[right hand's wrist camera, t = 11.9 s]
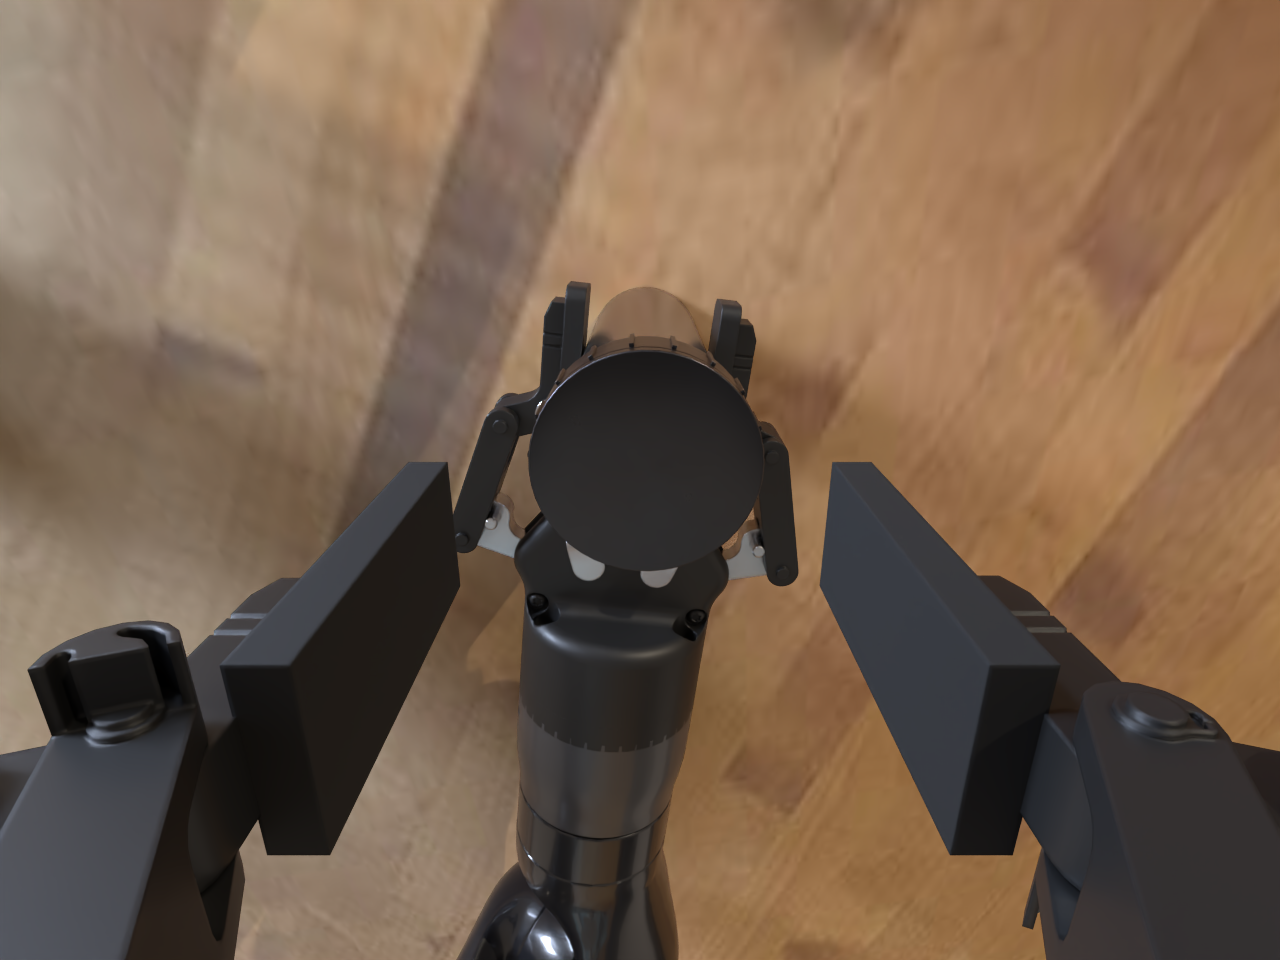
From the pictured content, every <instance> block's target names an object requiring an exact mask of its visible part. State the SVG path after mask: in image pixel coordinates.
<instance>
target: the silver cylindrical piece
mask: <svg viewBox="0 0 1280 960" xmlns="http://www.w3.org/2000/svg"><path fill="white" fill-rule="evenodd" d="M633 333H634V335H635V337H637V336H657V337H664V338H670V336H675V339H676V340H677V341H681V342H684V343H687V344H689V345H691V346H693V347H695V348H698V349H700V350H701V351H703V352H705V353H707V352H706V349H705V347H704V345H703V342H702V340H701V338H700V335H699V333H698V330H697V328H696V326H695V323H694V321H693V319H692V317H691V315H690V313H689V311H688V310H687V308H686V307H685V306H684V305H683V303H682V302H681V301H680V300H678V299H677V298H676V297H675V296H673V295H672V294H670V293H668V292H666V291H664V290H660V289H657V288H651V287H639V288H633V289H629V290H627V291H624V292H622V293H620V294H619V295H617V296H616V297H614V298H613V299H612V300H610V301H609V302H608V303H607V304H606V306H605V307H604V308H603V310H602V311H601V313H600V315H599V317H598V319H597V321H596V324H595V326H594V329H593V331H592V334H591V336H590V339H589V341H588V344H587V346H586V349H585V351H584V354H583V355H585V354H586V353H588V352H589V351H590V349H591V347H592V346H594V345H596V347H599V346H601V345H604V344H606V343H609V342H612V341H615V340H619V339H623V338H627V337H630V334H633Z"/></svg>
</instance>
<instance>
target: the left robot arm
mask: <svg viewBox="0 0 1280 960" xmlns="http://www.w3.org/2000/svg"><path fill="white" fill-rule="evenodd" d="M590 290H591V284H590V283H583V282H574V281H571V282H570V283H569V284H568V285H567V289H566V296H565V298H564V297H555V298H554V299H553V300H552V301H551V303H550V305H549V307H548V309H547V312H546V314H545V316H544V330H543V332H544V333H543V347H542V363H541V379H540V387H539V388H537V389H536V390H534V391H531V392H527V393H523V394H515V393H508V394H505V395H503V396H502V397H501V398H500V399H499V400H498V402H497V403H496V405H495V408H494V409H493V410H491V411H490V413H489V414H488V415H487V417H486V418H485V420H484V423H483V426H482V429H481V432H480V435H479V438H478V441H477V444H476V448H475V451H474V454H473V457H472V460H471V463H470V466H469V469H468V472H467V475H466V478H465V481H464V484H463V487H462V490H461V493H460V496H459V499H458V502H457V505H456V508H455V511H454V514H453V520H454V530H455V540H456V549H457V552H459V553H468V552H471V551H473V550H474V549H475V548H476V546H480V547H483V548H486V549H489V550H492V551H494V552H497V553H500V554H503V555H506V556H509V557H512V558H514V563H515V566H516V569H517V571H518V573H519V574H520V576H521V578H522V580H523V583H524V587H525V607H524V623H523V640H522V656H521V673H520V690H519V706H518V722H517V748H518V757H519V765H520V782H519V798H518V813H517V830H516V847H517V855H518V861H519V862H517V863H516V864H515V865H513V866H512V867H511V868H510V869H509V870H508V871H507V872H506V873H505V874H504V876H503V877H502V878H501V879H500V881H499V882H498V883H497V885H496V886H495V888H494V890H493V891H492V893H491V895H490V896H489V898H488V900H487V901H486V903H485V905H484V907H483V909H482V911H481V913H480V915H479V917H478V919H477V921H476V923H475V925H474V927H473V929H472V931H471V933H470V935H469V937H468V939H467V941H466V943H465V945H464V947H463V948H462V950H461V952H460V954H459V956H458V958H457V960H678V956H679V945H678V933H677V924H676V917H675V912H674V906H673V900H672V895H671V889H670V884H669V878H668V871H667V865H666V860H665V856H664V851H663V843H664V837H665V833H666V827H667V821H668V815H669V809H670V803H671V797H672V791H673V787H674V784H675V781H676V778H677V776H678V773H679V770H680V767H681V764H682V761H683V758H684V753H685V749H686V743H687V737H688V732H689V726H690V720H691V715H692V709H693V703H694V697H695V691H696V685H697V679H698V674H699V668H700V662H701V657H702V651H703V645H704V639H705V634H706V628H707V622H708V617H709V612H710V609H711V606H712V604H713V603H714V601H715V600H716V598H717V597H718V596H719V595H720V594H721V592H722V591H723V590H724V589H725V587H726V585H727V583H728V580H733V579H741V578H748V577H756V576H763V575H767V577H768V579H769V581H770V582H771V583H772V584H774V585H777V586H787V585H789V584H791V583H793V582H794V581H795V580H796V578H797V576H798V561H797V549H796V537H795V525H794V513H793V501H792V490H791V478H790V466H789V454H788V451H787V448H786V447H785V445H784V443H783V441H782V440H781V438H780V436H779V435H778V433H777V431H776V430H775V428H774V427H773V426H772V425H771V424H770V423H767V422H760V421H759V423H760V425H761V427H762V430H761V431H760V432H761V436H762V442H763V447H764V472H763V480H762V484H761V488H760V492H759V494H758V497H757V499H756V502H755V505H754V507H753V509H754V518H755V519H754V520H749V521H746V522H745V523H743V524H742V526H741V527H740V528H739V531H738V538H737V541H736V543H735V544H734V545H733V546H732V547H730V548H728V549H725V550H723V548H722V546H720V547H719V548H718V549H716V550H715V551H713V552H712V553H710V554H708V555H707V556H705V557H703V558H701V559H699V560H697V561H694V562H692V563H689V564H686V565H683V566H680V567H677V568H672V569H667V570H659V571H633V570H626V569H620V568H616V567H612V566H609V565H606V564H603V563H601V562H598V561H596V560H593V559H591V558H589V557H588V556H586V555H584V554H582V553H580V552H579V551H578V550H576V549H575V548H573V547H572V546H571V545H569V544H568V543H567V542H566V541H565V540H564V539H563V538H562V537H561V536H559V535H558V533H557V532H556V531H555V530H554V529H553V527H552V526H551V525H550V524H549V522H548V521H547V519H546V518H545V516H544V515H543V513H542V512H540V513H539V514H538V515H537V516H536V517H535V518H534V519H533V520H532V522H531V523H530V524H529V525H528V526H527V527H526V528H525V529H523V528H521V527H520V526H518V525H517V524H516V522H515V521H514V518H513V511H514V504H513V502H512V500H511V499H510V497H508V496H507V495H505V494H503V493H500V489H501V487H502V484H503V481H504V478H505V475H506V473H507V470H508V467H509V464H510V461H511V458H512V456H513V453H514V450H515V447H516V444H517V442H518V439H519V436H523V435H527V434H531V433H532V432H533V428H534V425H535V423H536V421H537V419H535V418H534V417H535V414H536V412H537V410H538V408H539V406H540V404H541V402H542V401H546V399H547V397H548V395H549V393H550V392H551V390H552V388H553V387H554V385H555V382H556V379H557V377H558V375H559V373H560V371H561V370H562V369H563V368H564V369H565V370H567V369H568V368H569V367H570V366H571V365H572V364H573V363H574V362H575V361H576V360H578V359H579V358H581V357H582V356H583V354H584V351H585V349H586V339H587V327H588V315H589V303H590ZM741 315H742V307H741V305H740V304H739V303H738V302H737V301H732V300H723V299H717V301H716V304H715V310H714V316H713V323H712V329H711V336H710V343H709V349H708V351H709V352H711V353H712V355H713V358H714V359H715V360H716V361H717V362H718V363H719V364H721V365H722V366H723V367H724V368H725V369H726V370H727V372H728V373H729V374H730V375H731V376H732V377H733V379H735V378H738V380H739V381H740V383H741V385H742V387H743V389H744V391H745V392H746V394H744V397H745V399H746V397H747V391H748V385H749V379H750V374H751V368H752V362H753V356H754V351H755V345H756V338H755V333H754V328H753V325H752V324H751V323H750V322H749V321H748V320H747V319H741Z"/></svg>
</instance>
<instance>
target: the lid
mask: <svg viewBox="0 0 1280 960" xmlns="http://www.w3.org/2000/svg"><path fill="white" fill-rule="evenodd" d="M744 394H746V392H745V391H744V389H743V387H742V385H741V383H740V381H739V380H738V378H735V379H733V377H732V376H731V375H730V374H729V373H728V372H727V370H726V369H725V368H724V367H723V366H722V365H721V364H719V363H718V362H717V361H716V360H715V359H714V358H713V355H712V353H711V352H709V351H707V353H705V352H703V351H701V350H700V349H698V348H695V347H693V346H691V345H689V344H687V343H684V342H681V341H677V340H676V339H675V336H670V338H664V337H657V336H637V337H635V335H634V333H633V334H630V337H627V338H623V339H619V340H615V341H612V342H609V343H606V344H604V345H601V346H599V347H596V345H594V346H592V347H591V349H590V351H589V352H588V353H586V354H585V355H583V356H582V357H581V358H579V359H578V360H576V361H575V362H574V363H573V364H572V365H571V366H570V367H569V368H568V369H567V370H565V369H564V368H563V369H562V370H561V371H560V373H559V375H558V377H557V379H556V382H555V385H554V387H553V388H552V390H551V392H550V393H549V395H548V397H547V399H546V401H542V402H541V404H540V406H539V408H538V410H537V412H536V414H535V417H534V418H535V419H537V421H536V423H535V425H534V428H533V432H532V436H531V440H530V446H529V451H528V462H529V475H530V481H531V486H532V489H533V492H534V496H535V499H536V501H537V503H538V505H539V507H540V509H541V512H542V513H543V515H544V516H545V518H546V519H547V521H548V522H549V524H550V525H551V526H552V527H553V529H554V530H555V531H556V532H557V533H558V535H559V536H561V537H562V538H563V539H564V540H565V541H566V542H567V543H568V544H569V545H571V546H572V547H573V548H575V549H576V550H578V551H579V552H580V553H582V554H584V555H586V556H588V557H589V558H591V559H593V560H596V561H598V562H601V563H603V564H606V565H609V566H612V567H616V568H620V569H626V570H633V571H659V570H667V569H672V568H677V567H680V566H683V565H686V564H689V563H692V562H694V561H697V560H699V559H701V558H703V557H705V556H707V555H708V554H710V553H712V552H713V551H715V550H716V549H718V548H719V547H720V546H722V545H723V544H724V543H725V542H727V541H728V540H729V539H730V538H731V537H732V536H733V535H734V534H735V533H736V532H737V531H738V529H739V528H740V527H741V526H742V524H743V523H744V521H745V520H746V519H747V517H748V516H749V514H750V512H751V510H752V508H753V507H754V505H755V502H756V499H757V497H758V494H759V492H760V488H761V484H762V480H763V472H764V447H763V442H762V436H761V432H760V431H761V430H762V427H761V425H760V423H759V421H758V419H757V417H756V415H755V413H754V412H752V410H751V408H750V406H749V404H748V402H747V400H746V399H745V397H744Z"/></svg>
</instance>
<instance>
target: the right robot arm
mask: <svg viewBox="0 0 1280 960" xmlns="http://www.w3.org/2000/svg"><path fill="white" fill-rule="evenodd" d="M459 587H460V578H459V569H458V559H457V549H456V540H455V530H454V520H453V511H452V501H451V491H450V482H449V472H448V462H408V463H407V464H406V465H405V467H404V468H403V469H402V470H401V471H400V472H399V473H398V474H397V475H396V476H395V477H394V478H393V479H392V481H391V482H390V483H389V484H388V485H387V486H386V487H385V488H384V489H383V490H382V491H381V492H380V493H379V494H378V496H377V497H376V498H375V499H374V500H373V501H372V502H371V503H370V504H369V505H368V506H367V507H366V508H365V509H364V511H363V512H362V513H361V514H360V515H359V516H358V517H357V518H356V519H355V520H354V521H353V522H352V523H351V524H350V526H349V527H348V528H347V529H346V530H345V531H344V532H343V533H342V534H341V535H340V536H339V537H338V538H337V539H336V541H335V542H334V543H333V544H332V545H331V546H330V547H329V548H328V549H327V550H326V551H325V552H324V553H323V555H322V556H321V557H320V558H319V559H318V560H317V561H316V562H315V563H314V564H313V565H312V566H311V567H310V568H309V570H308V571H307V572H306V573H305V574H304V575H303V576H302V577H301V578H281V579H279V580H277V581H275V582H273V583H272V584H270V585H268V586H266V587H264V588H263V589H261V590H259V591H257V592H255V593H253V594H252V595H250V596H249V597H248V598H247V599H246V600H245V601H244V602H243V603H242V604H241V605H240V606H239V607H238V608H237V609H236V610H235V611H234V612H233V613H232V614H231V618H227V619H226V620H225V621H224V622H223V623H222V624H221V625H220V626H219V627H218V628H217V629H216V630H215V631H214V635H210V636H208V637H207V638H206V639H205V640H204V641H203V642H202V643H201V644H200V645H199V646H198V647H197V648H196V649H195V650H194V651H193V652H192V653H191V654H190V655H189V656H188V657H186V653H185V650H184V646H183V642H182V639H181V635H180V631H179V630H178V629H176V628H175V627H173V626H172V625H170V624H169V623H164V622H156V621H138V622H127V623H121V624H117V625H112V626H108V627H104V628H100V629H96V630H93V631H91V632H88V633H85V634H83V635H80V636H78V637H75V638H73V639H70V640H68V641H66V642H64V643H62V644H60V645H59V646H57V647H55V648H54V649H52V650H50V651H48V652H47V653H45V654H43V655H42V656H41V657H40V658H39V659H38V660H37V661H36V662H35V663H34V664H33V665H32V666H31V667H30V668H29V669H28V673H29V675H30V678H31V681H32V683H33V686H34V689H35V692H36V694H37V697H38V700H39V702H40V705H41V708H42V711H43V713H44V716H45V719H46V721H47V724H48V727H49V729H50V732H51V735H52V737H51V739H50V741H49V742H48V744H47V746H42V747H37V748H32V749H27V750H22V751H17V752H12V753H7V754H2V755H0V960H234V956H235V948H236V941H237V934H238V927H239V919H240V912H241V905H242V898H243V891H244V883H245V876H244V869H243V863H242V860H241V856H240V852H239V849H240V847H241V845H242V844H243V842H244V841H245V839H246V837H247V836H248V834H249V833H250V831H251V830H252V828H253V826H254V825H255V823H256V822H257V820H258V821H259V824H260V828H261V832H262V836H263V840H264V844H265V848H266V852H267V855H330V854H331V852H332V850H333V848H334V846H335V844H336V842H337V840H338V838H339V836H340V833H341V831H342V829H343V827H344V825H345V823H346V821H347V819H348V817H349V815H350V813H351V811H352V809H353V807H354V804H355V802H356V800H357V798H358V796H359V794H360V792H361V790H362V788H363V786H364V784H365V782H366V780H367V778H368V776H369V773H370V771H371V769H372V767H373V765H374V763H375V761H376V759H377V757H378V755H379V753H380V751H381V749H382V747H383V745H384V742H385V740H386V738H387V736H388V734H389V732H390V730H391V728H392V726H393V724H394V722H395V720H396V718H397V716H398V713H399V711H400V709H401V707H402V705H403V703H404V701H405V699H406V697H407V695H408V693H409V691H410V689H411V687H412V685H413V682H414V680H415V678H416V676H417V674H418V672H419V670H420V668H421V666H422V664H423V662H424V660H425V658H426V656H427V653H428V651H429V649H430V647H431V645H432V643H433V641H434V639H435V637H436V635H437V633H438V631H439V629H440V627H441V625H442V622H443V620H444V618H445V616H446V614H447V612H448V610H449V608H450V606H451V604H452V602H453V600H454V598H455V596H456V594H457V591H458V589H459ZM820 587H821V589H822V591H823V594H824V596H825V598H826V600H827V602H828V604H829V606H830V608H831V610H832V612H833V614H834V616H835V618H836V620H837V622H838V625H839V627H840V629H841V631H842V633H843V635H844V637H845V639H846V641H847V643H848V645H849V647H850V649H851V651H852V653H853V656H854V658H855V660H856V662H857V664H858V666H859V668H860V670H861V672H862V674H863V676H864V678H865V680H866V682H867V685H868V687H869V689H870V691H871V693H872V695H873V697H874V699H875V701H876V703H877V705H878V707H879V709H880V711H881V713H882V716H883V718H884V720H885V722H886V724H887V726H888V728H889V730H890V732H891V734H892V736H893V738H894V740H895V742H896V745H897V747H898V749H899V751H900V753H901V755H902V757H903V759H904V761H905V763H906V765H907V767H908V769H909V771H910V773H911V776H912V778H913V780H914V782H915V784H916V786H917V788H918V790H919V792H920V794H921V796H922V798H923V800H924V802H925V804H926V807H927V809H928V811H929V813H930V815H931V817H932V819H933V821H934V823H935V825H936V827H937V829H938V831H939V833H940V836H941V838H942V840H943V842H944V844H945V846H946V848H947V850H948V852H949V854H950V855H1013V852H1014V848H1015V844H1016V840H1017V836H1018V832H1019V828H1020V824H1021V821H1022V817H1023V818H1024V819H1025V821H1026V823H1027V824H1028V826H1029V827H1030V829H1031V831H1032V832H1033V834H1034V835H1035V837H1036V838H1037V840H1038V842H1039V843H1040V845H1041V846H1042V849H1041V852H1040V856H1039V860H1038V863H1037V867H1036V871H1035V874H1034V878H1033V882H1032V886H1031V889H1030V893H1029V897H1028V900H1027V904H1026V908H1025V912H1024V918H1023V925H1022V926H1023V927H1027V928H1030V929H1033V927H1034V924H1035V920H1036V917H1037V913H1039V912H1040V917H1041V925H1042V932H1043V939H1044V946H1045V953H1046V960H1280V751H1275V750H1270V749H1265V748H1260V747H1255V746H1250V745H1245V744H1240V743H1235V742H1232V741H1231V739H1230V737H1229V736H1228V734H1227V733H1226V732H1225V731H1224V730H1223V728H1222V727H1221V726H1220V725H1219V724H1218V723H1217V721H1216V720H1215V719H1214V718H1212V717H1211V716H1209V715H1208V714H1207V713H1205V712H1204V711H1202V710H1201V709H1199V708H1198V707H1196V706H1195V705H1193V704H1192V703H1190V702H1188V701H1185V700H1183V699H1181V698H1179V697H1177V696H1175V695H1172V694H1170V693H1168V692H1166V691H1163V690H1159V689H1156V688H1152V687H1149V686H1145V685H1142V684H1137V683H1128V682H1121V681H1120V680H1119V679H1118V678H1117V677H1116V676H1115V675H1114V674H1113V673H1112V672H1111V671H1110V670H1109V669H1108V668H1107V667H1106V666H1105V665H1104V664H1103V663H1102V662H1101V661H1100V660H1099V659H1098V658H1097V657H1095V656H1094V655H1093V654H1092V653H1091V652H1090V651H1089V650H1088V649H1087V648H1086V647H1085V646H1084V645H1083V644H1082V643H1081V642H1080V641H1079V640H1078V639H1077V638H1076V637H1075V636H1074V635H1073V634H1072V633H1067V631H1066V629H1067V628H1066V627H1065V626H1064V625H1063V624H1062V623H1060V622H1059V621H1058V620H1057V619H1056V618H1055V617H1054V616H1050V612H1049V611H1048V610H1047V609H1046V608H1045V607H1044V606H1043V605H1042V604H1041V603H1040V602H1039V601H1038V600H1037V599H1036V598H1035V597H1034V596H1033V595H1032V594H1031V593H1030V592H1028V591H1026V590H1024V589H1022V588H1021V587H1019V586H1017V585H1015V584H1013V583H1011V582H1010V581H1008V580H1006V579H1004V578H1002V577H1001V576H977V575H976V574H975V573H974V572H973V571H972V570H971V568H970V567H969V566H968V565H967V564H966V563H965V562H964V561H963V560H962V559H961V558H960V557H959V556H958V555H957V553H956V552H955V551H954V550H953V549H952V548H951V547H950V546H949V545H948V544H947V543H946V542H945V541H944V539H943V538H942V537H941V536H940V535H939V534H938V533H937V532H936V531H935V530H934V529H933V528H932V527H931V526H930V524H929V523H928V522H927V521H926V520H925V519H924V518H923V517H922V516H921V515H920V514H919V513H918V512H917V511H916V509H915V508H914V507H913V506H912V505H911V504H910V503H909V502H908V501H907V500H906V499H905V498H904V497H903V496H902V494H901V493H900V492H899V491H898V490H897V489H896V488H895V487H894V486H893V485H892V484H891V483H890V482H889V481H888V479H887V478H886V477H885V476H884V475H883V474H882V473H881V472H880V471H879V470H878V469H877V468H876V467H875V465H874V464H873V463H872V462H832V472H831V482H830V491H829V501H828V511H827V520H826V530H825V540H824V549H823V559H822V569H821V578H820Z"/></svg>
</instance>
